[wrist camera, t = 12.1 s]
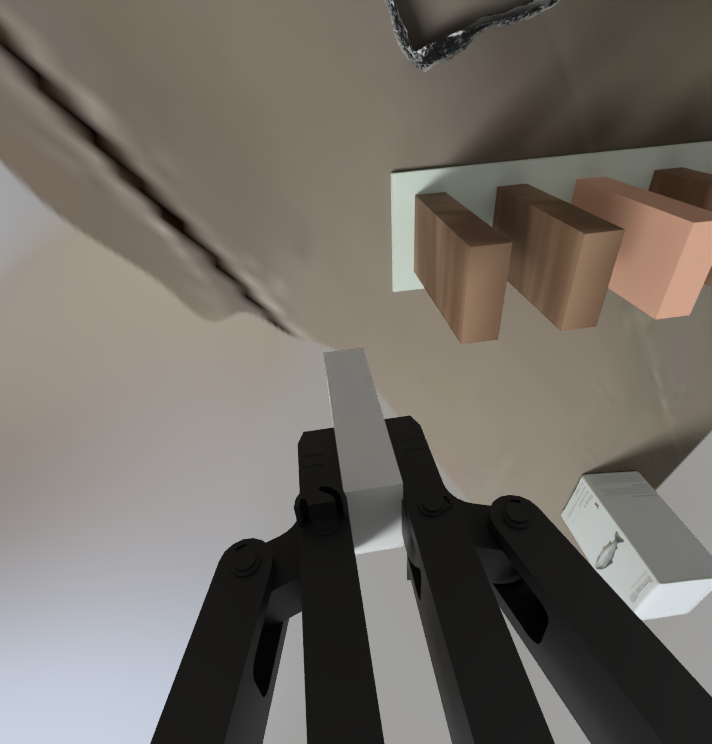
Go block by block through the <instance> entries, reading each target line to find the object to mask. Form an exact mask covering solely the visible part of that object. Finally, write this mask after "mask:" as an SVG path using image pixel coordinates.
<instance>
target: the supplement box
mask: <svg viewBox="0 0 712 744" xmlns="http://www.w3.org/2000/svg"><path fill="white" fill-rule="evenodd" d="M561 516H562V518H563V519H564V521H565V523H566V524H567V526H568V527H569V529H570V531H571V532H572V534H573V536H574V537H575V539H576V540H577V542H578V544H579V545H580V547H581V549H582V550H583V552H584V553H585V555H586V557H587V558H588V560H589V562H590V563H591V565H592V566H593V568H594V569H595V570H596V571H597V572H598V573H599V575H600V576H601V577H602V578H603V579H604V580H605V581H606V582H607V583H608V584H609V585H610V587H611V588H612V589H613V590H614V591H615V592H616V593H617V594H618V595H619V596H620V597H621V599H622V600H623V601H624V602H625V603H626V604H627V605H628V606H629V607H630V608H631V610H632V611H633V612H634V613H635V614H636V615H637V616H638V617H639V618H640V619H641V620H646V619H653V618H660V617H667V616H673V615H680V614H686V613H689V612H690V611H691V610H692V609H693V608H694V607H695V606H696V605H697V604H698V603H699V602H700V601H701V600H702V599H703V598H704V597H705V596H706V595H707V594H708V593H709V592H711V591H712V556H711V554H710V553H709V552H708V551H707V550H706V549H705V547H704V546H703V545H702V544H701V543H700V542H699V540H697V538H696V537H695V536H694V535H693V534H692V533H691V531H690V530H689V529H688V528H687V527H686V526H685V525H684V523H683V522H682V521H681V520H680V519H679V518H678V516H676V514H675V513H674V512H673V511H672V510H671V509H670V508H669V506H668V505H667V504H666V503H665V502H664V501H663V499H662V498H661V497H660V496H659V495H658V494H657V492H656V491H655V490H654V489H653V488H652V487H651V486H650V484H649V483H648V482H647V481H646V480H645V479H644V478H643V476H642V475H641V474H640V473H639V472H638V471H632V472H615V473H600V474H587V475H582V477H581V479H580V481H579V484H578V486H577V488H576V489H575V491H574V493H573V495H572V497H571V498H570V500H569V502H568V504H567V506H566V507H565V509H564V510H563V512H562V514H561Z"/></svg>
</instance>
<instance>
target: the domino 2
mask: <svg viewBox="0 0 712 744" xmlns="http://www.w3.org/2000/svg"><path fill="white" fill-rule="evenodd" d="M492 227H493V228H494V229H495V230H497V231H498V232H499V233H501V234H502V235H503V236H505V237H506V238H507V239H509V240H510V241H511V242H513V243H512V249H511V256H510V263H509V269H508V276H507V281H508V282H509V283H510V284H511V285H512V286H513V287H514V288H515V289H517V290H518V291H519V292H520V293H521V294H522V295H523V296H524V297H525V298H526V299H527V300H528V301H529V302H530V303H531V304H533V305H534V306H535V307H536V308H537V309H538V310H539V311H540V312H541V313H542V314H543V315H544V316H545V317H546V318H547V319H549V320H550V321H551V322H552V323H553V324H554V325H555V326H556V327H557V328H558V329H559V330H560V331H565V330H573V329H580V328H588V327H595V326H596V325H597V322H598V319H599V315H600V312H601V309H602V305H603V302H604V299H605V295H606V292H607V289H608V285H609V282H610V279H611V276H612V272H613V269H614V266H615V262H616V259H617V256H618V252H619V249H620V246H621V242H622V239H623V236H624V233H625V229H623V228H621V227H619V226H617V225H615V224H613V223H610V222H608V221H606V220H604V219H602V218H600V217H598V216H595V215H593V214H591V213H589V212H587V211H585V210H583V209H580V208H578V207H576V206H574V205H572V204H570V203H568V202H565V201H563V200H561V199H559V198H557V197H555V196H553V195H550V194H548V193H546V192H544V191H542V190H540V189H538V188H535V187H533V186H531V185H529V184H527V183H526V184H516V185H507V186H497V193H496V201H495V209H494V218H493V226H492Z"/></svg>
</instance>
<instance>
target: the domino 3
mask: <svg viewBox="0 0 712 744" xmlns="http://www.w3.org/2000/svg"><path fill="white" fill-rule="evenodd" d="M571 204H572V205H574V206H576V207H578V208H580V209H583V210H585V211H587V212H589V213H591V214H593V215H595V216H598V217H600V218H602V219H604V220H606V221H608V222H610V223H613V224H615V225H617V226H619V227H621V228H623V229H625V233H624V236H623V239H622V242H621V246H620V249H619V252H618V256H617V259H616V262H615V266H614V269H613V272H612V276H611V279H610V282H609V285H608V288H609V289H611V290H612V291H614V292H615V293H617V294H618V295H620V296H621V297H623V298H624V299H626V300H627V301H629V302H630V303H632V304H633V305H635V306H636V307H638V308H639V309H641V310H642V311H644V312H645V313H647V314H648V315H650V316H651V317H653V318H654V319H663V318H671V317H679V316H687V315H690V313H691V311H692V308H693V306H694V304H695V302H696V300H697V297H698V295H699V293H700V291H701V288H702V286H703V284H704V282H705V279H706V277H707V275H708V273H709V270H710V268H711V266H712V212H711V211H708V210H705V209H702V208H699V207H696V206H693V205H690V204H687V203H684V202H681V201H678V200H675V199H672V198H669V197H666V196H663V195H660V194H657V193H654V192H651V191H648V190H645V189H642V188H639V187H636V186H632V185H629V184H626V183H623V182H620V181H617V180H614V179H611V178H608V177H605V176H604V177H594V178H584V179H577V180H576V184H575V189H574V193H573V198H572V202H571Z"/></svg>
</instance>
